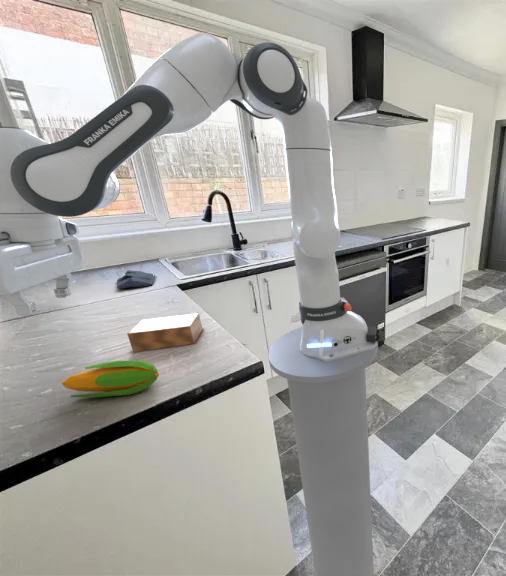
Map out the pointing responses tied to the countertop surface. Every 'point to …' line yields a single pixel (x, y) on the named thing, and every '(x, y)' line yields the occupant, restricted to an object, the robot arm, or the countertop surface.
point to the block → (165, 332)
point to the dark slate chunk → (135, 279)
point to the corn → (113, 378)
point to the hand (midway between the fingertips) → (47, 304)
